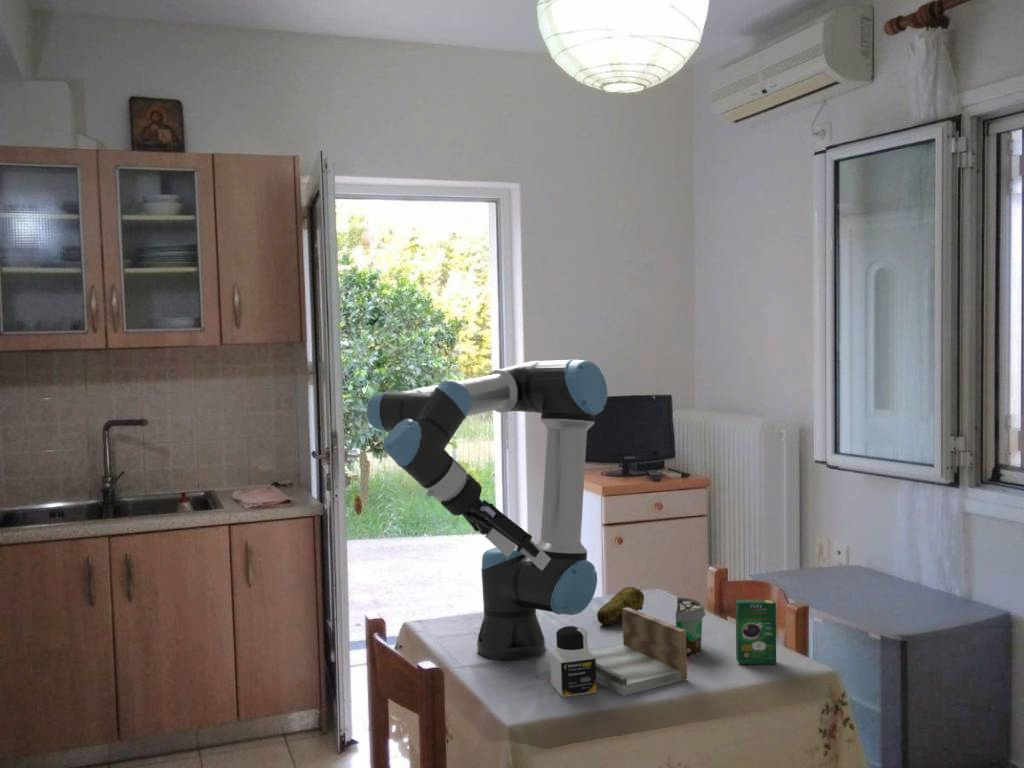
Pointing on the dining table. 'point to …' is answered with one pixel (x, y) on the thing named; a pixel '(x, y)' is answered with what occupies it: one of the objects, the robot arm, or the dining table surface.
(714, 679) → the dining table surface
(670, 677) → the wall board
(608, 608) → the potato
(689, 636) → the food container
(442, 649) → the dining table surface
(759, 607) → the coffee box
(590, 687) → the medicine bottle
